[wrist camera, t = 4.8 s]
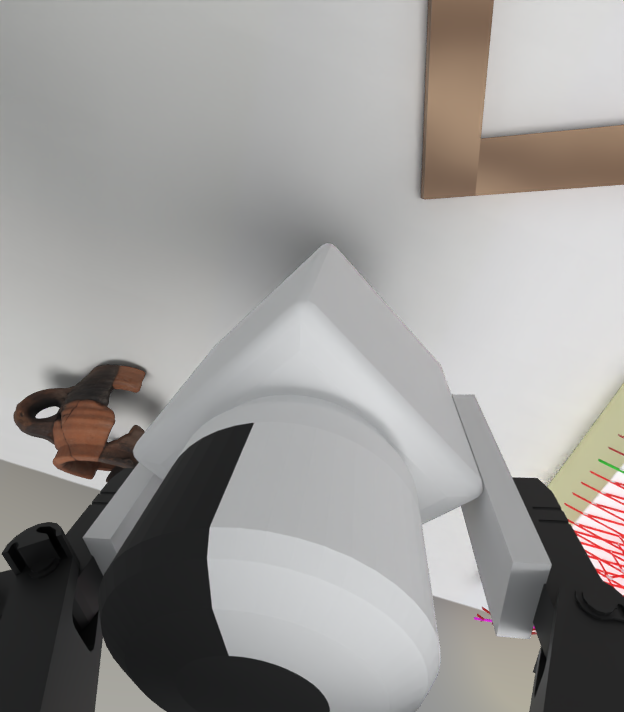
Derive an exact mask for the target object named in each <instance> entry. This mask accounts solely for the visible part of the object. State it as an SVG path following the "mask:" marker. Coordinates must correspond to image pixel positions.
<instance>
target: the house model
mask: <svg viewBox="0 0 624 712" xmlns="http://www.w3.org/2000/svg"><path fill="white" fill-rule="evenodd" d="M547 487H548V488H549V489H550V490H551V491H552V492H553V494H554V496H555V497H556V499H557V501H558V503H559V505H560V506H561V510H562V511H563V512H564V514H565V515H566V517H567V519H568V521H569V524H571V526H572V528H573V530H574V531H575V533H576V535H577V537H578V539H579V540H580V542H581V544H582V546H583V548H584V549H585V551H586V553H587V555H588V557H589V558H590V560H591V562H592V564H593V565H594V567H595V569H596V571H597V573H598V574H599V576H600V577H601V579H602V580H603V581H604V582H606V583H607V584H609V585H611V586H613V587H614V588H615V589H616V590H617V591H618V592H619V593H621V594H622V595H623V596H624V383H623V385H622V386H621V387H620V389H619V390H618V392H617V393H616V394H615V396H614V397H613V398H612V400H611V401H610V402H609V404H608V405H607V406H606V408H605V409H604V411H603V412H602V413H601V415H600V416H599V417H598V419H597V420H596V421H595V423H594V424H593V425H592V427H591V428H590V430H589V431H588V432H587V434H586V435H585V436H584V438H583V439H582V440H581V442H580V443H579V444H578V446H577V447H576V448H575V450H574V451H573V453H572V454H571V455H570V457H569V458H568V459H567V461H566V462H565V463H564V465H563V466H562V467H561V469H560V470H559V472H558V473H557V474H556V476H555V477H554V478H553V480H552V481H551V482H550V484H549V485H548V486H547ZM482 609H483V610H484V611H486V612H487V613H489V614H490V612H489V611H488V610H486V609H485V608H483V607H482ZM477 616H478V617H479V618H476V617H474V619H475V620H480V621H488V622H492V620H490V619H484V618H483V617H481V616H480V615H478V614H477ZM492 624H493V622H492ZM532 631H533V632H532V634H537V633H536V630H535V627H533V630H532ZM532 634H531V635H532Z"/></svg>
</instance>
